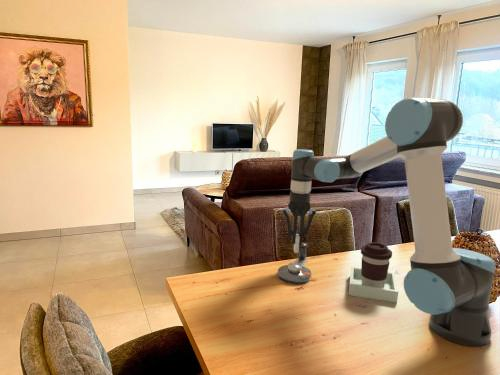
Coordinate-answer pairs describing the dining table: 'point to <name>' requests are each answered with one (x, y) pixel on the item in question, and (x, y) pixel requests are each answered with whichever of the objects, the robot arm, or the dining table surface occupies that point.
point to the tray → (371, 292)
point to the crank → (299, 260)
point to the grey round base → (295, 275)
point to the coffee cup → (375, 264)
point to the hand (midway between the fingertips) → (296, 251)
